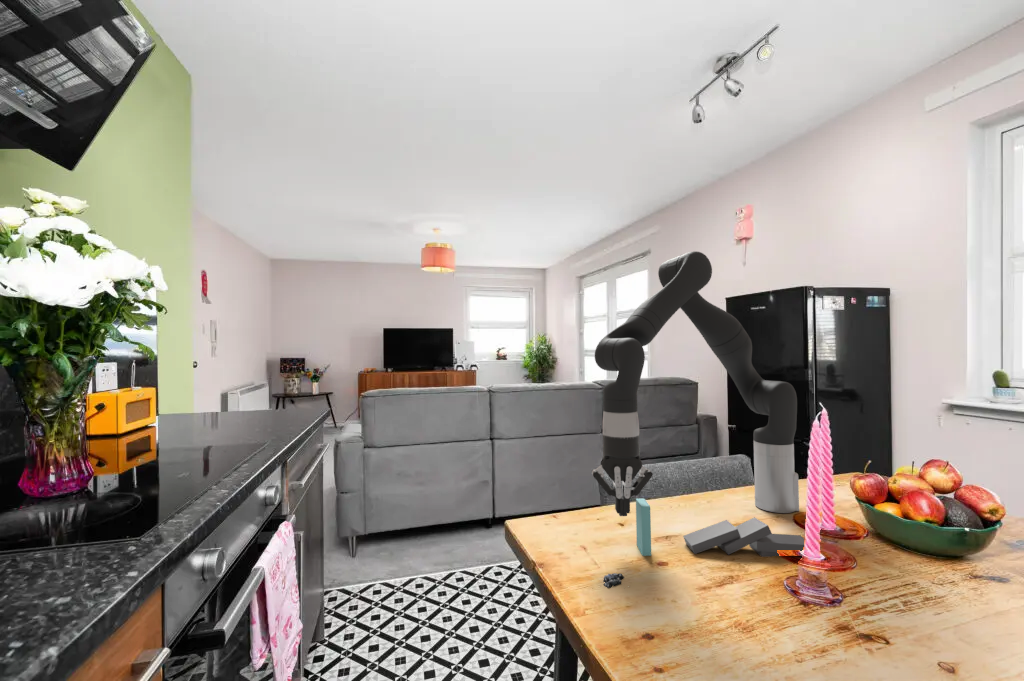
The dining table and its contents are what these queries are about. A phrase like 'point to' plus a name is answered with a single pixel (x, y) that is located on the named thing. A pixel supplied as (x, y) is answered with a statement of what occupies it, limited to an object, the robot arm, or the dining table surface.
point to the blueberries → (613, 580)
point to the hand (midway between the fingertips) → (622, 514)
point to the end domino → (643, 527)
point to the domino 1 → (711, 536)
